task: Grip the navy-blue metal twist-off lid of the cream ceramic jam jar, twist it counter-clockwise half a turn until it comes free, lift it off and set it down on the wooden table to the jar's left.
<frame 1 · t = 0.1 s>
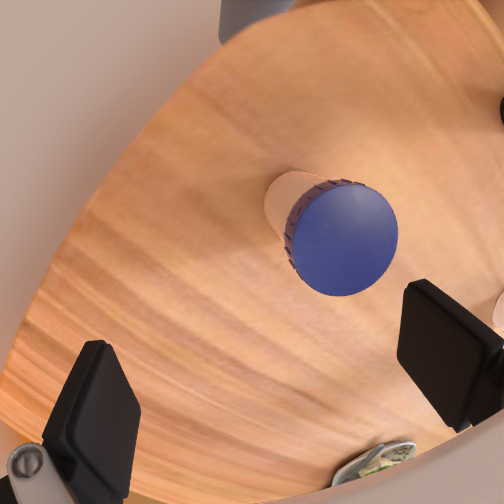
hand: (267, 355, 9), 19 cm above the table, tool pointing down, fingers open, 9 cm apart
jar: (297, 204, 28), on the table
salad plate: (368, 468, 45), on the table
lid: (345, 240, 18), point 11 cm above the table, screwed on, not yet turned
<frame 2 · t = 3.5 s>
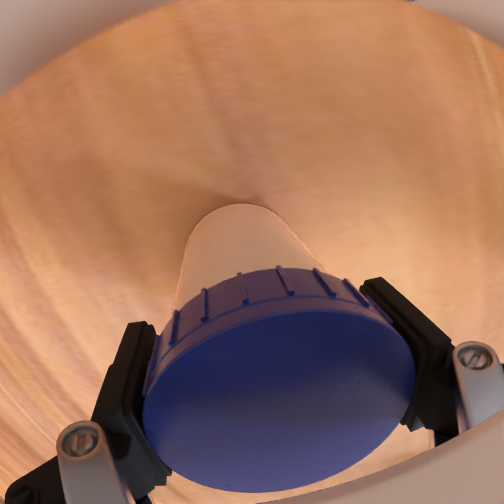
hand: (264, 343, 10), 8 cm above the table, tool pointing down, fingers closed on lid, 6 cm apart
jar: (241, 259, 17), on the table
lid: (284, 416, 7), point 11 cm above the table, screwed on, not yet turned, touching gripper
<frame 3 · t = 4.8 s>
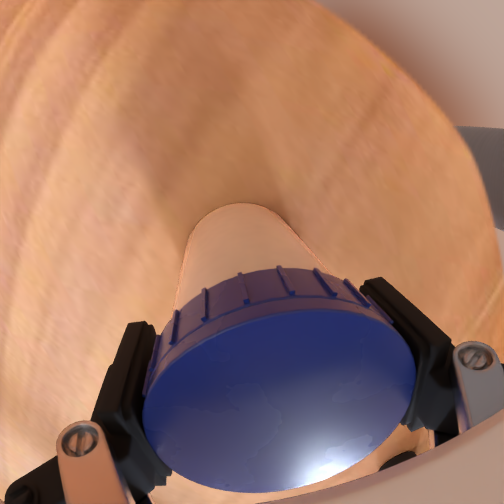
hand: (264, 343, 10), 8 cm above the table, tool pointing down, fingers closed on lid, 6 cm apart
jar: (241, 258, 17), on the table
drinking cup: (396, 462, 28), on the table
lid: (284, 416, 7), point 11 cm above the table, turned 53° so far, risen 0.1 cm, still on its thread, touching gripper
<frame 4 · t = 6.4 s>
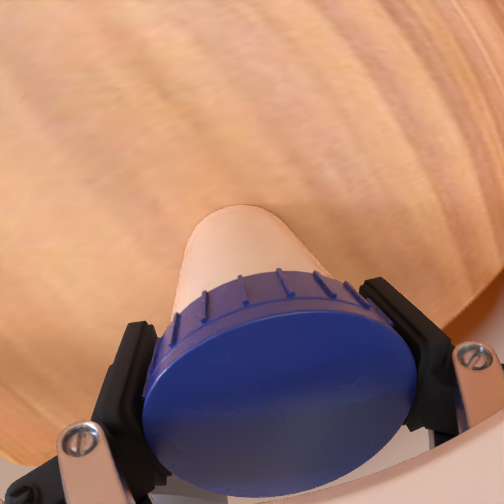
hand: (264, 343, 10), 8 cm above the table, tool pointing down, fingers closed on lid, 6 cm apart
jar: (241, 260, 17), on the table
lid: (285, 419, 7), point 11 cm above the table, off its thread, touching gripper
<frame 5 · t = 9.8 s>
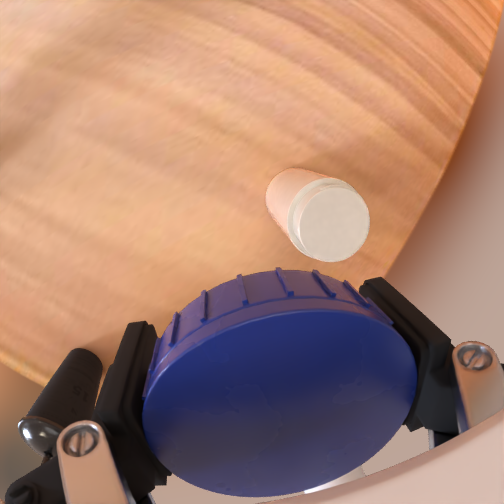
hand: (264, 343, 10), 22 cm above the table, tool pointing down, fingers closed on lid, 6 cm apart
jar: (295, 198, 31), on the table
drinking cup: (85, 362, 34), on the table
lid: (285, 419, 7), point 25 cm above the table, off its thread, touching gripper
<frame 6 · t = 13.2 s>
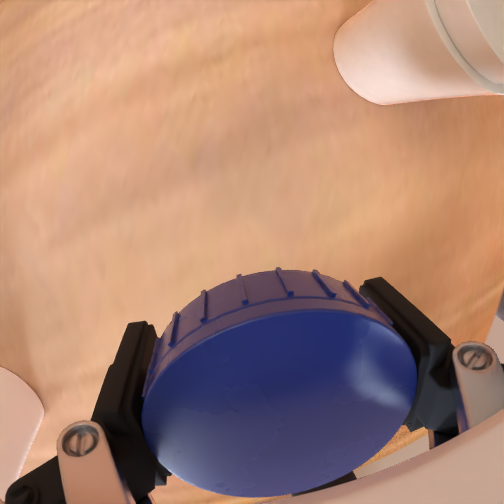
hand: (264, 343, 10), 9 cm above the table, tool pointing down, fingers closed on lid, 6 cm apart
jar: (378, 58, 15), on the table
drinking cup: (311, 447, 25), on the table
lid: (285, 419, 7), point 12 cm above the table, off its thread, touching gripper
cylindrical container: (12, 394, 20), on the table
when the fingers open (0 cm above the table, at t = 16.1 s): lid drops 2 cm, point 1 cm above the table.
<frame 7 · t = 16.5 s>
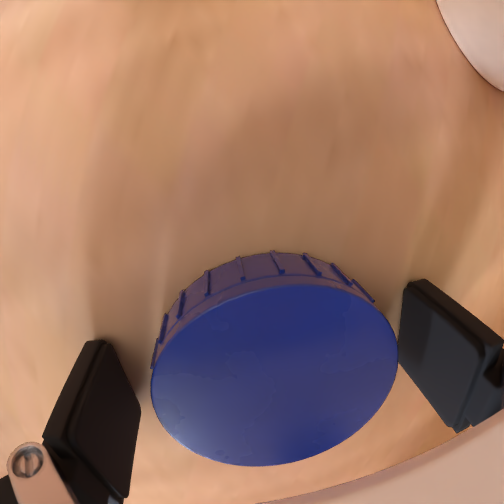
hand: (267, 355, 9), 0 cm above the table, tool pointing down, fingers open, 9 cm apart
jar: (491, 19, 6), on the table
lid: (278, 388, 8), point 1 cm above the table, off its thread
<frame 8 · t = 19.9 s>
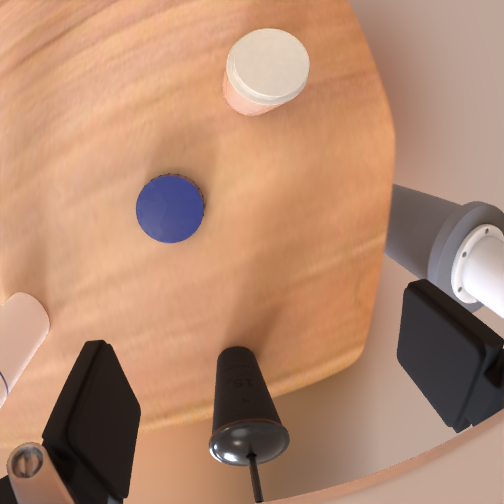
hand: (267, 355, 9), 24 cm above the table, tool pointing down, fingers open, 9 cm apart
jar: (252, 87, 28), on the table
drinking cup: (236, 360, 39), on the table
lid: (169, 209, 30), point 1 cm above the table, off its thread
cylindrical container: (28, 316, 33), on the table
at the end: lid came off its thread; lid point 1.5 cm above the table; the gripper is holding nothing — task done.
